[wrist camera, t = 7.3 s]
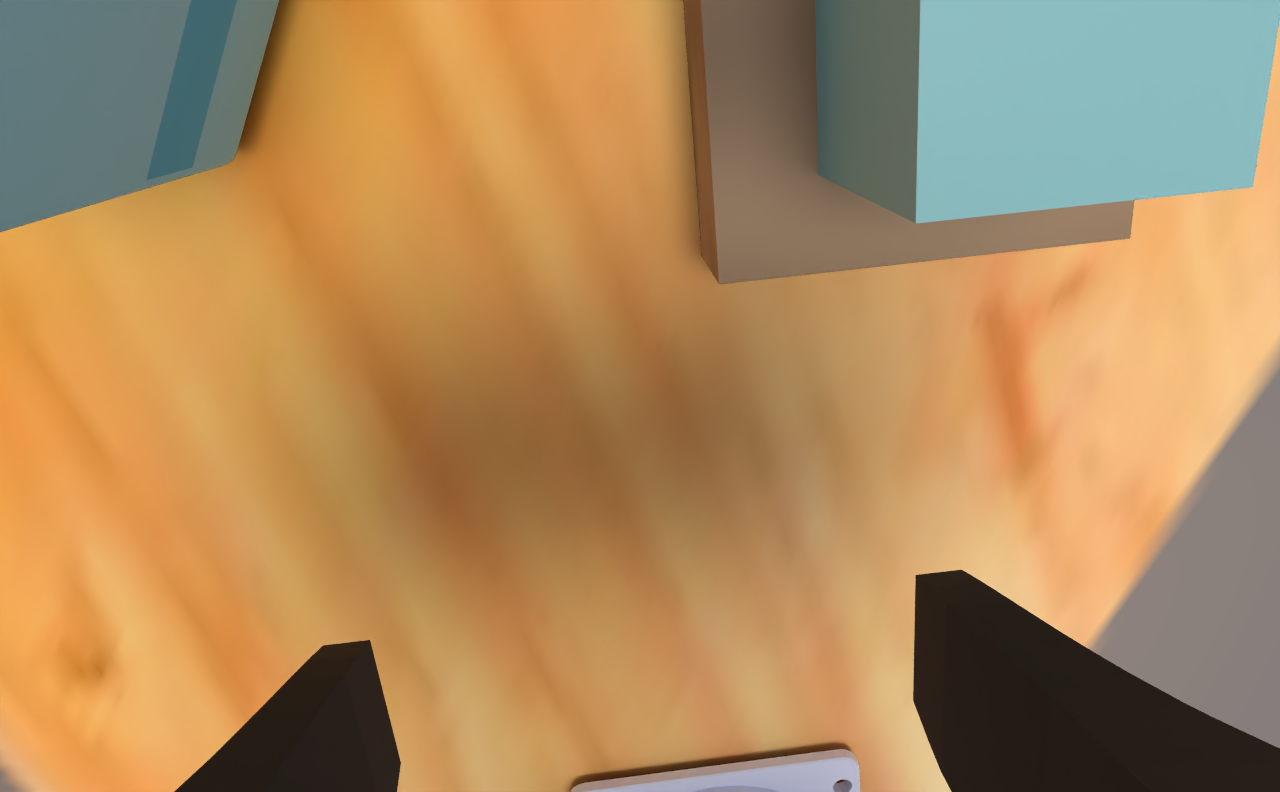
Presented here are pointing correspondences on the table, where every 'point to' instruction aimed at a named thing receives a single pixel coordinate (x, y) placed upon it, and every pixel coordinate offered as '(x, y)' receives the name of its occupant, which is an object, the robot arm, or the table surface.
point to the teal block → (1039, 101)
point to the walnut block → (814, 164)
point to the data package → (120, 96)
